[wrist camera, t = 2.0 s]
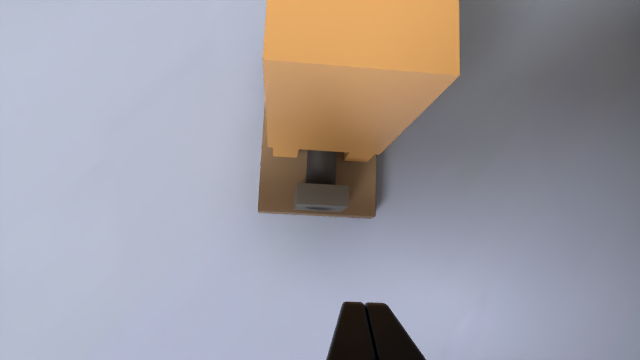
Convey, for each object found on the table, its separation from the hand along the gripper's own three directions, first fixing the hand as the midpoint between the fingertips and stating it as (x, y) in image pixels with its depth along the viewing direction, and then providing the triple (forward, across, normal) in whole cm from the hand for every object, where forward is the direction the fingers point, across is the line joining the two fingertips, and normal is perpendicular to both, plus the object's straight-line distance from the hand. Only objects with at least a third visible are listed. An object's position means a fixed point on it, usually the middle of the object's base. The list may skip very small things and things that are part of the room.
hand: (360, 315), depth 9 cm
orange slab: (+12, 0, +2) cm, 12 cm away
